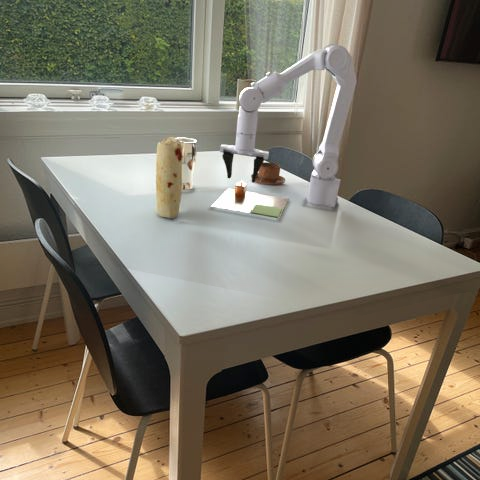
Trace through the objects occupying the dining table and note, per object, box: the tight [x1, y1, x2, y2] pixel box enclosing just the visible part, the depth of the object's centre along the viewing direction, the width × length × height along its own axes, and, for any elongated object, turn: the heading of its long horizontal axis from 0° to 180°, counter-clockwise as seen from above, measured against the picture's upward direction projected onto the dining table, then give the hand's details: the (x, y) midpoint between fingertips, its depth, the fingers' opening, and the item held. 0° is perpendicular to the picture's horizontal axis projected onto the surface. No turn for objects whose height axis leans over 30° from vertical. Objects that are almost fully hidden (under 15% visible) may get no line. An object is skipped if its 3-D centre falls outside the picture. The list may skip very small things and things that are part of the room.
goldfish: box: [234, 180, 248, 196], centre depth 150 cm, size 6×3×4 cm, turn 167°
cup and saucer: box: [250, 162, 286, 186], centre depth 167 cm, size 12×12×6 cm
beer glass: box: [175, 137, 197, 190], centre depth 149 cm, size 7×7×15 cm
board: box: [210, 188, 290, 219], centre depth 146 cm, size 20×20×1 cm
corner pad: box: [249, 204, 282, 218], centre depth 140 cm, size 8×8×1 cm
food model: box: [155, 136, 183, 220], centre depth 127 cm, size 10×7×20 cm
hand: (241, 179), depth 148 cm, fingers open, 7 cm apart
